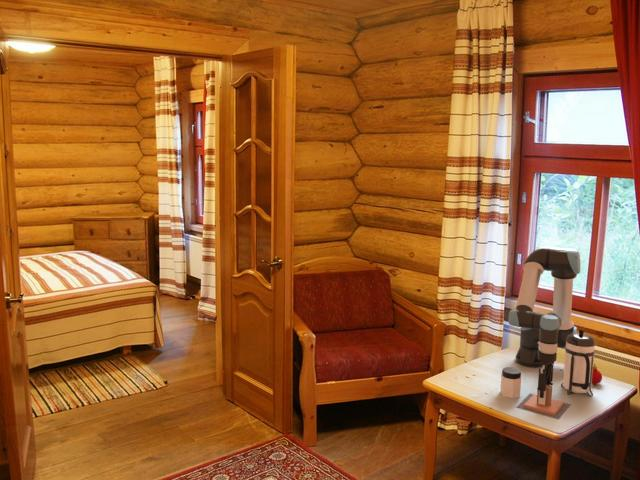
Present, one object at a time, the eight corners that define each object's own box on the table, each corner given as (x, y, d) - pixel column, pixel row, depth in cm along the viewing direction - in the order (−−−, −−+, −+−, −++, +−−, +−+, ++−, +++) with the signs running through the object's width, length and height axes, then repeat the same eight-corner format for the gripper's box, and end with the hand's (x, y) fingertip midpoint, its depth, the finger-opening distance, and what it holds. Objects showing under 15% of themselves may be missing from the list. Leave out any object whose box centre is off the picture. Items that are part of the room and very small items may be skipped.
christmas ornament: (584, 379, 289) (585, 360, 288) (600, 381, 287) (601, 361, 286) (586, 385, 283) (588, 365, 281) (602, 387, 281) (604, 367, 279)
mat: (529, 394, 273) (529, 393, 273) (570, 405, 262) (570, 404, 262) (516, 408, 259) (516, 407, 259) (558, 420, 248) (558, 419, 248)
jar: (508, 400, 267) (510, 375, 265) (496, 393, 274) (497, 368, 272) (524, 396, 271) (525, 372, 268) (511, 390, 278) (512, 365, 276)
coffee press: (551, 390, 278) (555, 328, 272) (571, 382, 287) (575, 322, 281) (586, 403, 264) (591, 339, 258) (605, 394, 273) (611, 332, 267)
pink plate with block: (533, 396, 269) (534, 377, 268) (563, 404, 262) (564, 384, 260) (523, 407, 259) (525, 387, 258) (554, 415, 251) (555, 395, 250)
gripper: (545, 343, 266) (542, 392, 270) (531, 355, 251) (528, 406, 255) (562, 346, 261) (559, 396, 265) (549, 359, 246) (546, 411, 250)
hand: (544, 401), depth 260 cm, fingers open, 6 cm apart
